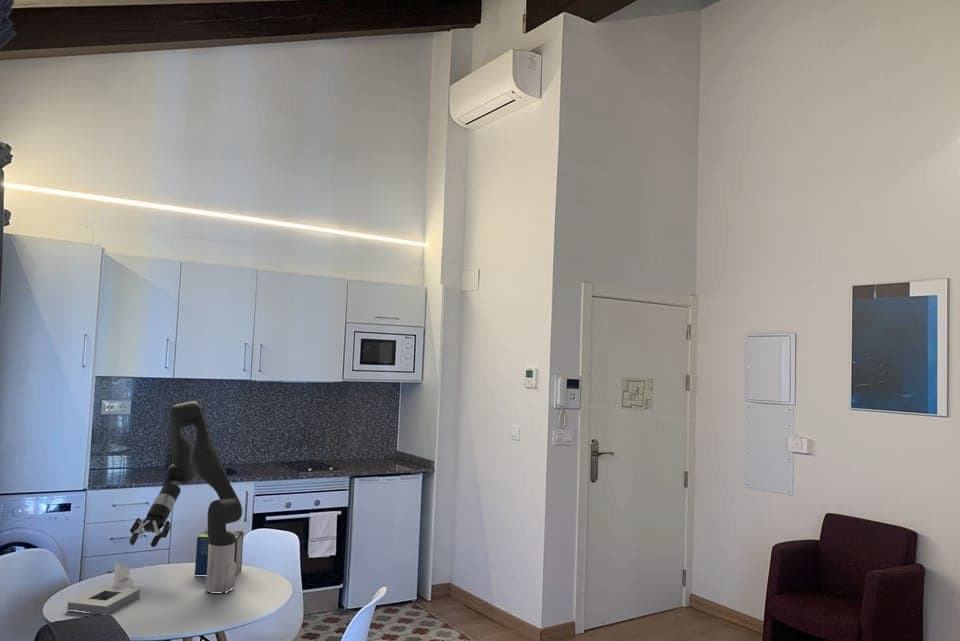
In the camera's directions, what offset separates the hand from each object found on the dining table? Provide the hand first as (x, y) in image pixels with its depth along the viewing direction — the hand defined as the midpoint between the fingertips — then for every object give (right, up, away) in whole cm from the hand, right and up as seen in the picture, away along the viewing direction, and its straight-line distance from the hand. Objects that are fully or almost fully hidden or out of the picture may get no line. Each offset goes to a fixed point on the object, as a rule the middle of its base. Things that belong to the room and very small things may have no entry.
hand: (141, 545), depth 273 cm
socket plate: (0, -12, -27) cm, 29 cm away
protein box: (+24, -15, +12) cm, 31 cm away
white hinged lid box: (-2, -13, -10) cm, 17 cm away
